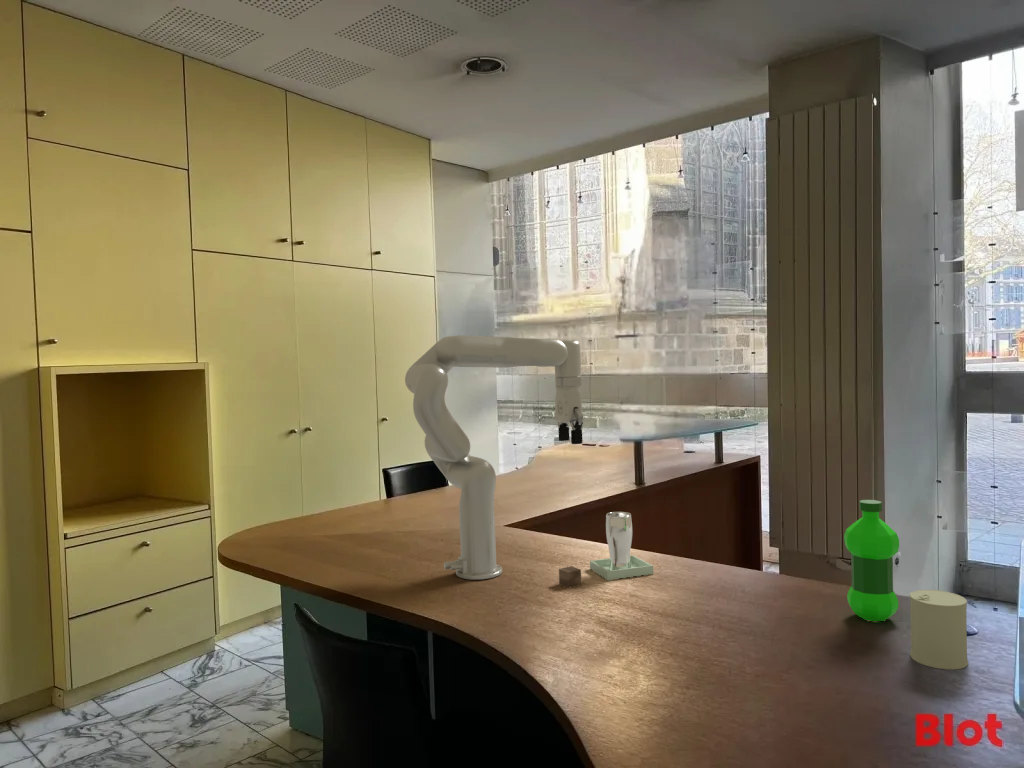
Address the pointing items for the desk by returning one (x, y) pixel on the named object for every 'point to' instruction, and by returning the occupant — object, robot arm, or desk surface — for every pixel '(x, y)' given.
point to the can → (938, 629)
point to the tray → (637, 569)
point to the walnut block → (570, 576)
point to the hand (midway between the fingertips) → (570, 442)
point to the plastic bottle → (872, 564)
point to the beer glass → (619, 539)
